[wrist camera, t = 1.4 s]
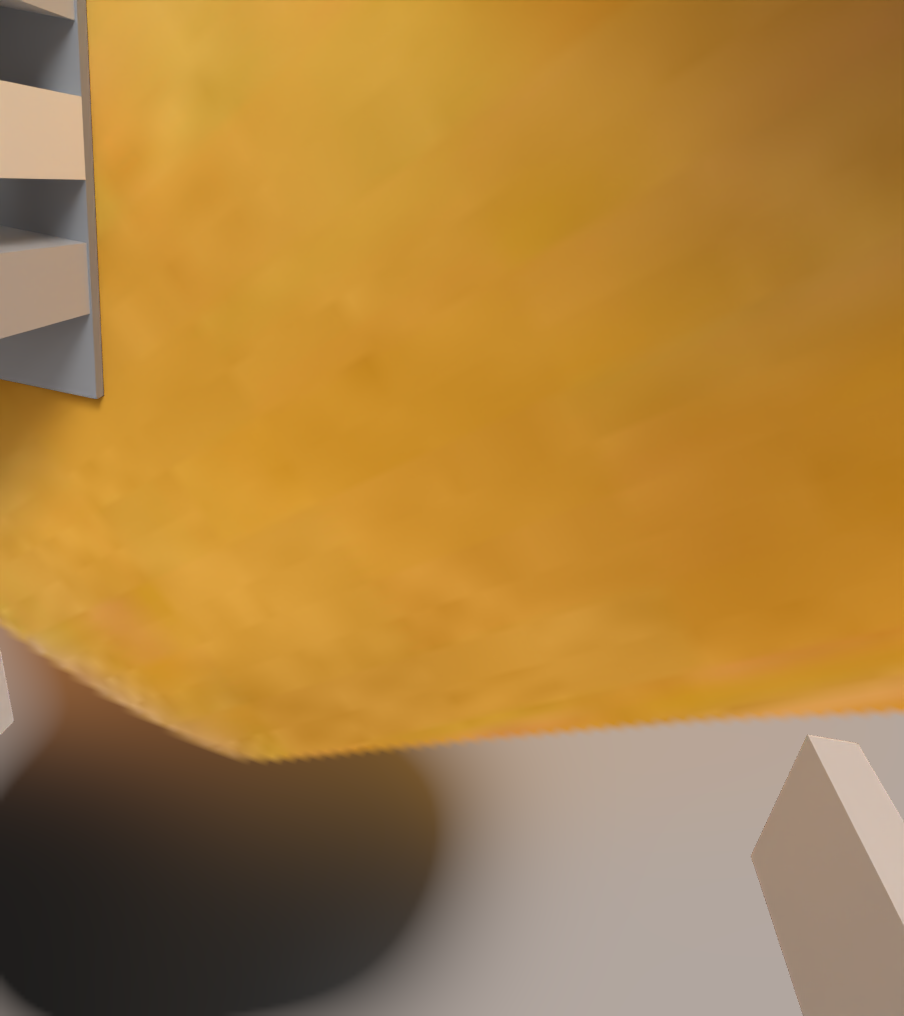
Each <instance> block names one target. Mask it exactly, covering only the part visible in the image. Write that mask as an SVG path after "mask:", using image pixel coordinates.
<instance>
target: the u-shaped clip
mask: <svg viewBox="0 0 904 1016" xmlns="http://www.w3.org/2000/svg"><path fill="white" fill-rule="evenodd" d="M0 178H23V179H74V180H86V177H85V158H84V138H83V118H82V98H81V96H76V95H71V94H66V93H61V92H56V91H51V90H46V89H41V88H36V87H31V86H27V85H22V84H17V83H12V82H7V81H2V80H0Z"/></svg>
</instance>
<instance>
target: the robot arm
mask: <svg viewBox="0 0 904 1016" xmlns="http://www.w3.org/2000/svg"><path fill="white" fill-rule="evenodd" d="M13 722H14V719H13V713H12V708H11V703H10V697H9V692H8V687H7V681H6V676H5V671H4V665H3V661H2V655H1V649H0V735H1V734H2V733H3V732H4V731H5V730H6V729H7V728H8V727H9V726H10V725H11V724H12V723H13ZM751 858H752V861H753V864H754V867H755V870H756V873H757V876H758V879H759V882H760V885H761V888H762V892H763V894H764V897H765V901H766V904H767V907H768V910H769V913H770V916H771V919H772V922H773V925H774V928H775V931H776V934H777V937H778V940H779V944H780V947H781V950H782V953H783V955H784V959H785V962H786V965H787V968H788V971H789V974H790V977H791V980H792V983H793V986H794V989H795V992H796V995H797V999H798V1002H799V1005H800V1007H801V1011H802V1014H803V1016H904V821H903V819H902V818H901V816H900V814H899V813H898V811H897V809H896V807H895V806H894V804H893V802H892V801H891V799H890V797H889V796H888V794H887V792H886V790H885V789H884V787H883V786H882V784H881V782H880V780H879V778H878V777H877V775H876V773H875V772H874V770H873V768H872V767H871V765H870V763H869V761H868V760H867V758H866V756H865V755H864V753H863V751H862V750H861V748H860V746H859V745H858V743H854V742H848V741H842V740H836V739H831V738H825V737H820V736H814V735H807V737H806V739H805V741H804V743H803V745H802V747H801V749H800V751H799V754H798V756H797V759H796V760H795V762H794V764H793V766H792V769H791V771H790V773H789V775H788V777H787V779H786V782H785V784H784V786H783V788H782V790H781V792H780V794H779V797H778V799H777V801H776V803H775V805H774V807H773V809H772V812H771V814H770V816H769V818H768V820H767V822H766V824H765V826H764V829H763V831H762V833H761V835H760V837H759V839H758V842H757V844H756V846H755V848H754V850H753V852H752V855H751Z"/></svg>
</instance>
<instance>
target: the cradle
mask: <svg viewBox="0 0 904 1016" xmlns="http://www.w3.org/2000/svg"><path fill="white" fill-rule="evenodd" d="M0 80H2V81H7V82H12V83H17V84H22V85H27V86H31V87H36V88H41V89H46V90H51V91H56V92H61V93H66V94H71V95H76V96H81V98H82V118H83V138H84V158H85V177H86V180H74V179H23V178H0V379H3V380H7V381H12V382H17V383H22V384H27V385H31V386H36V387H41V388H46V389H51V390H55V391H60V392H65V393H70V394H75V395H79V396H84V397H89V398H94V399H98V398H100V397H102V396H104V389H103V367H102V345H101V323H100V301H99V279H98V257H97V235H96V213H95V191H94V169H93V146H92V124H91V102H90V80H89V58H88V36H87V14H86V0H0Z"/></svg>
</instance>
